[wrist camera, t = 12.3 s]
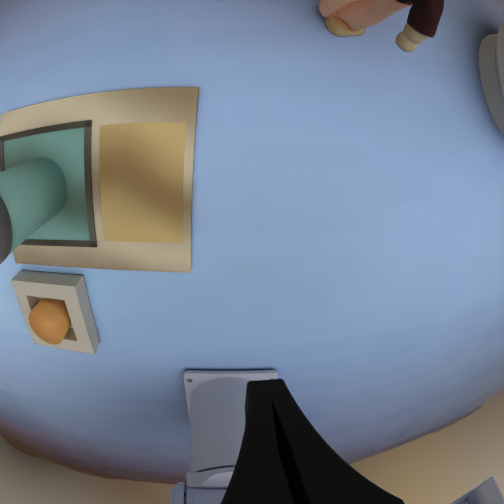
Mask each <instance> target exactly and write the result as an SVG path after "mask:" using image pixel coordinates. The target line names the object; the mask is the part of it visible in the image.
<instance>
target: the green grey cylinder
mask: <svg viewBox="0 0 504 504" xmlns="http://www.w3.org/2000/svg"><path fill="white" fill-rule="evenodd" d="M66 193H67V187H66V181H65V177H64V175H63V172H62V171H61V169H60V167H59V166H58V165H57V164H56V163H55V162H53V161H52V160H50V159H48V158H37V159H34V160H31V161H28V162H25V163H23V164H20V165H17V166H15V167H12V168H10V169H7V170H5V171H2V172H0V264H1V263H2V262H3V261H4V260H5V259H6V258H7V257H8V255H9V254H10V253H11V252H12V251H13V250H14V249H16V248H17V247H18V246H19V245H20V244H21V243H22V242H23V241H25V240H26V239H27V238H28V237H29V236H30V235H32V234H33V233H34V232H35V231H36V230H38V229H39V228H40V227H41V226H43V225H44V224H45V223H46V222H48V221H49V220H50V219H51V218H53V217H54V216H55V215H57V214H58V213H59V212H60V210H61V209H62V207H63V205H64V203H65V200H66Z"/></svg>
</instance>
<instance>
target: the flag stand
mask: <svg viewBox="0 0 504 504" xmlns="http://www.w3.org/2000/svg"><path fill="white" fill-rule="evenodd" d="M479 71H480V78H481V83H482V88H483V92H484V95H485V99H486V102H487V105H488V108H489V110H490V113H491V115H492V117H493V119H494V121H495V123H496V125H497V126H498V128H499V130H500V131H501V132H502V133H503V134H504V24H502V25H501V26H500V28H499V30H498V34H490V35H487V36H485V37H484V38H483V40H482V41H481V44H480V48H479Z"/></svg>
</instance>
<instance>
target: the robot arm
mask: <svg viewBox="0 0 504 504" xmlns="http://www.w3.org/2000/svg"><path fill="white" fill-rule="evenodd" d="M183 378H184V386H185V394H186V401H187V409H188V415H189V422H190V472H188V473H187V485H186V483H181V482H179V483H177V485H176V486H175V487H173V488H172V489H171V491H170V496H169V504H404V502H403V500H401V499H400V498H398V497H396V496H394V495H392V494H390V493H388V492H387V491H385V490H383V489H381V488H380V487H378V486H377V485H375V484H373V483H372V482H370V481H369V480H368V479H366V478H365V477H364V476H362V475H361V474H360V473H359V472H357V471H356V470H355V469H353V468H352V467H351V466H350V465H349V464H347V463H346V462H345V461H344V460H343V459H342V458H341V457H340V456H339V455H338V454H337V453H336V452H335V451H334V450H333V449H332V448H331V447H330V446H329V445H328V444H327V443H326V442H325V441H324V439H323V438H322V437H321V436H320V435H319V433H318V432H317V431H316V430H315V428H314V427H313V426H312V425H311V423H310V422H309V421H308V419H307V418H306V416H305V415H304V414H303V412H302V411H301V409H300V408H299V406H298V405H297V403H296V401H295V400H294V398H293V397H292V395H291V393H290V392H289V390H288V388H287V386H286V384H285V382H284V380H282V379H277V378H278V373H277V371H276V370H256V371H196V370H187V371H185V372H184V374H183ZM451 504H504V498H503V496H502V494H501V492H500V490H499V488H498V486H497V484H496V482H495V480H494V478H493V477H490V478H489V479H487V480H486V481H484V482H483V483H482V484H480V485H479V486H478V487H476V488H475V489H473V490H472V491H469V492H468V493H466V494H465V495H463V496H462V497H460V498H459V499H457V500H456V501H454V502H453V503H451Z"/></svg>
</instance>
